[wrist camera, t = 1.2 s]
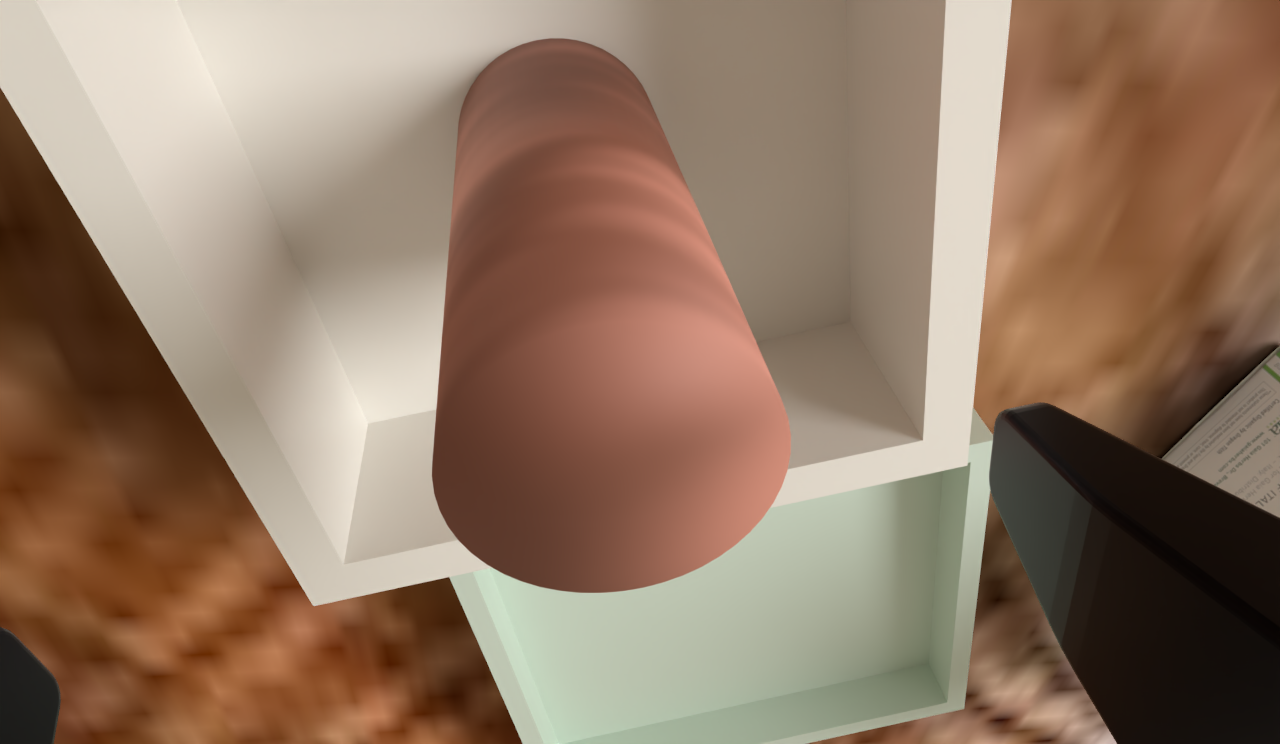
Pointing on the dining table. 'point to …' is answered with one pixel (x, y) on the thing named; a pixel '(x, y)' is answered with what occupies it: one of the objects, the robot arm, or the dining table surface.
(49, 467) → the dining table surface
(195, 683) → the dining table surface
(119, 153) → the square storage bin
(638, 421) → the dowel pin
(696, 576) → the tray
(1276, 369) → the syrup box
